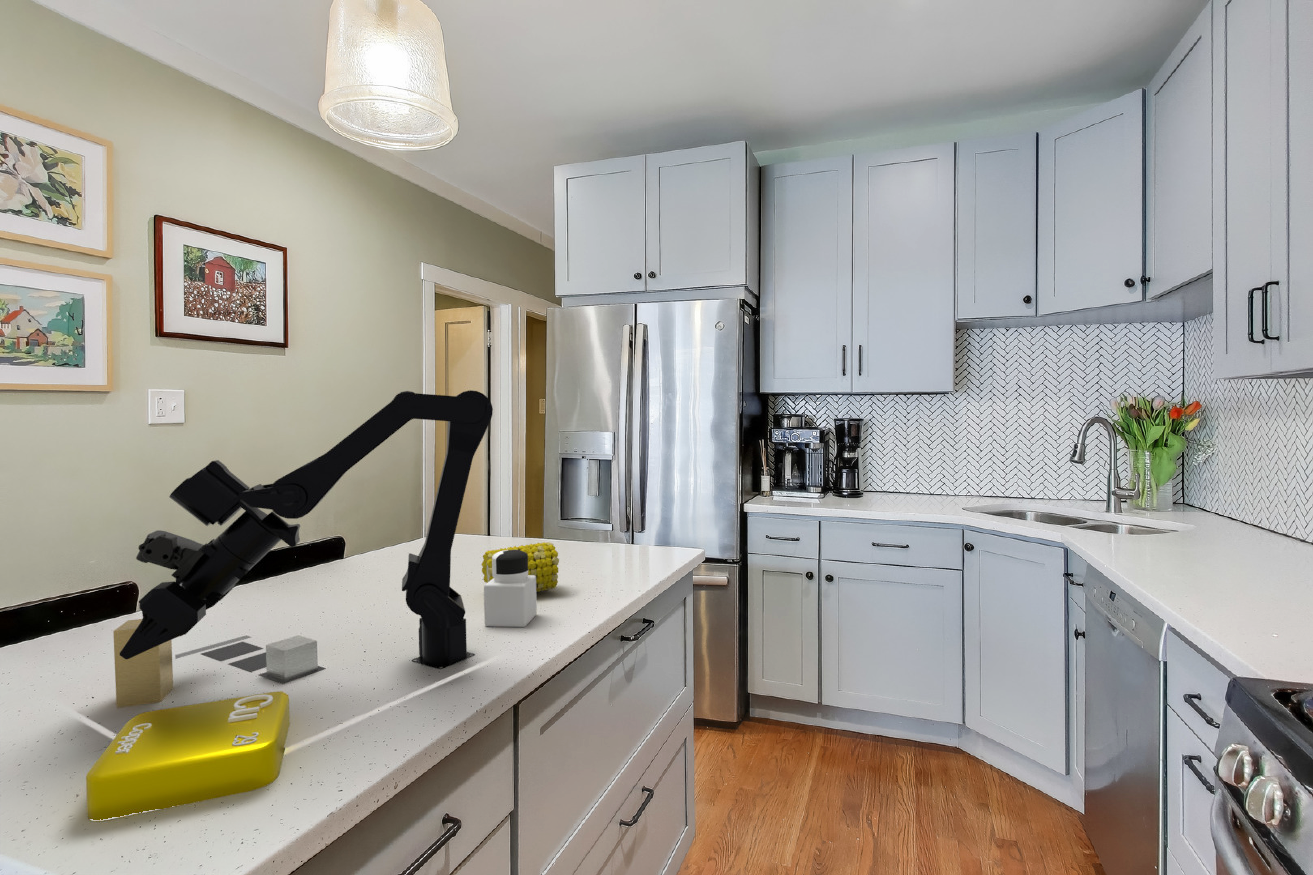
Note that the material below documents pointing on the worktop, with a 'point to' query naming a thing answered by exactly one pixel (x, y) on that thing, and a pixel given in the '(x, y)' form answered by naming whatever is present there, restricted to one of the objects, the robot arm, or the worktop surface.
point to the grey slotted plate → (245, 664)
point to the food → (531, 564)
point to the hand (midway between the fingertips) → (137, 644)
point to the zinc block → (291, 657)
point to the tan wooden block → (141, 670)
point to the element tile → (190, 755)
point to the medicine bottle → (510, 591)
